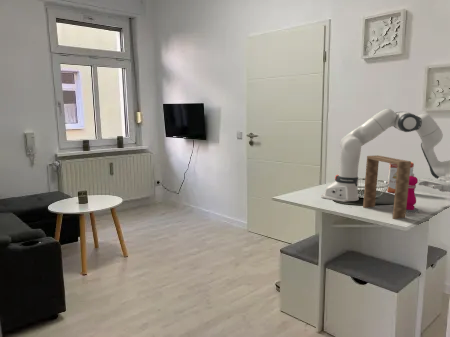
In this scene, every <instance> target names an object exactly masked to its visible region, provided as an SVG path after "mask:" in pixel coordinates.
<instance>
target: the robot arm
mask: <svg viewBox="0 0 450 337" xmlns="http://www.w3.org/2000/svg"><path fill="white" fill-rule="evenodd" d="M392 127H394V128H395V129H397V130H398V131H401V132H404V133H410V132H414V131H415V132H416V133H417V134H418V136H419V137H420V140H421V142H420V143H421V144H420V147H421V150H422V153H423V155H424V158H425V160H426V162H427V166H429V171H430V175H432V177H434V179H433V178H431V177H430V178H427V177H426V178H419V180H418V183H417V184H418V185H419V186H422V187H423V186H424V187H428V188H432V189H434V190H438V191H440V192H442V193H443V192H444V193H445V192H449V193H450V159H447V160H446V161H445V160H444V161H440V160H439V159H438V157H437V155H436V153H435V150H434V149H435V147H436V146H438V145H439V144H440V143H441V141H442V140H443V136H444V134H443V131H442V129H441V128H440V126H439V125H438V123H437V122H436V121H435V118H433V117H432V116H431V115H430V114H428V113H420V114H418V115H416V114H413V113H411V112H408V111H397V112H396V111H394V110H393V109H391V108H385V109H382V110H381V111H378V112H377V113H375V114H374V115H372V116H371V117H370V118H368V120H366V121H365V122H363V123H362V124H360V125H359V126H357V127H356V128H355V129H353V130H352V131H350V132H349V133H347V134H345V135H344V136H343V137H342V138H341V139H340V141H339V142H340V143H339V145H340V146H339V147H340V149H341V151H340V158H339V159H340V160H339V164H338V165H339V167H338V174H336V175H335V177H334V180H335V181H333V182H331V183H330V184H328V185H327V186H326V187H325V190H324V192H322V193H321V194H320V198H322V199H327V200H332V201H337V202H344V203H345V202H356V201H359V199H360V198H359V193H358V192H359V191H358V185H359V164H360V157H361V154H362V153H361V152H362V146H365V145H367V143H370V142H372V141H373V140H374V139H376V138H377V137H379V135H381V134H382V133H383V132H385V131H387V130H388V129H390V128H392Z"/></svg>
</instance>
